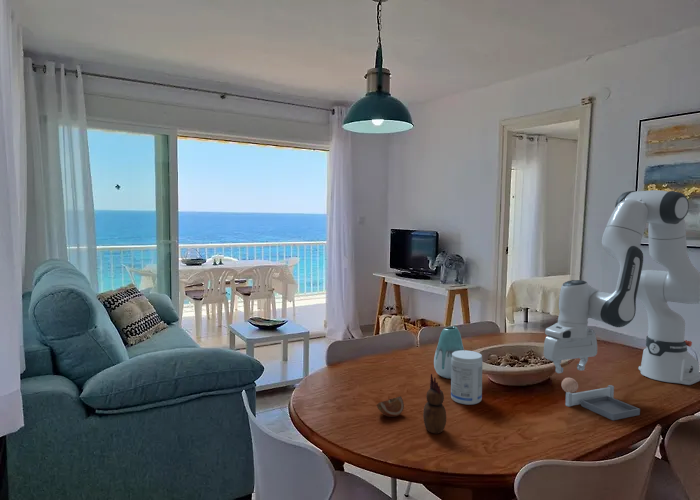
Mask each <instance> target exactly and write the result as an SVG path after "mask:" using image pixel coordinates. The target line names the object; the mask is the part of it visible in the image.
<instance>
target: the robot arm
mask: <svg viewBox="0 0 700 500" xmlns="http://www.w3.org/2000/svg"><path fill="white" fill-rule="evenodd" d="M614 207H615V208H613V209H614V210H613V211H612V213H611V215H610V217H609V218H608V221H607V223H606V226H605V229H604V231H603V233H602V236H601V237H602V238H601V246H602V248H603V250H604V251H605V252H606V254H608V255H609V257H612V258H614V259H615V260H616V261H617V262H618V264H619V272H618V276H617V282H616V285H615V289H614V291H613V292H612V293H611V292H606V291H602V290H599V289H596V288H595V287H592V285H589V284H588V282H587V281H585V280H582V279H579V280H578V279H576V280H575V279H572V280H567V281H565V282H563V283H562V284H561V287H560V291H559V295H558V296H559V297H558V309H559V314H558V318H557V322H555V323H554V324H553V325H550V326H548V327H545V331H544V333H545V335H546V336H545V339H544V343H543V356H544V358H545V359H547V360H548V361H551V362H552V363H553V365H554V367H555V373H557V374H563V373H564V367H562V366H561V364H562V361H565V360H574V359H580V360H579V362H578V363H577V364H576V369H577V371H585V368H586V365H587V363H588V361H589V358H590V357H596V355H598V341H597V335H596V334H597V333H596V331H595V330H594V329H593V328H592V327H591V328H589V325H588V323H589V319H591V320H592V319H593V320H594V321H598V322H602V323H605V324H607V325H609V326H612V327H613V328H614V327H615V328H623V327H625V326H628V325H629V324H630V323H631V322H632V321H634V318H635V317H636V311H637V306H636V305H637V303H636V302H637V299H638V300H639V301H640V303H641V304H642V305H643V308H644V309H645V311H646V315H647V336H646V338H645V346H646V347H645V348H644V349H643V352H642V358H641V363H640V365H639V366H638V369H637V370H639V371H640V374H641V375H642V376H645V377H647V378H649V379H651V380H655V381H659V382H665V383H673V384H682V385H686V386H691V385H693V384H696V383H698V382H700V363H699V360H698V359H696V358H695V357H694V356H693V355H692V354H691V353H690V352H689V351H688V347H689V348H690V347H692V345H693V342H692V341H691V340H686V339H685V332H686V321H685V319H684V318H683V316H682V315H680V313H678V312H676V311H674V310H673V309H672V308H670V306H669V304H668V302H671V303H678V304H679V303H680V304H685V305H686V304H689V305H694V304H695V305H696V304H699V305H700V271H699V270H698V269H697V268H696V267H695V266H694V264H693V263H692V261H691V260H690V258H689V254H688V253H689V252H688V247H687V229H686V228H687V227H686V222H685V217H686V216H687V215H688V213H689V209H690V204H689V200H688V197H686V196H685V194H684V193H683V192H682V193H681V192H678V191H675V190H670V191H667V190H659V189H657V190H656V189H651V190H637V191H636V190H630V191H626V192H623V193H622V194H620V195H619V197H618V198H617V199H616V202H615V205H614ZM647 224H648V237H647V238H648V254H649V257H650V258H651V260H653V261H654V262H656V263H658V264H660V265H661V266H663V267H664V268H665V269H666V270H655V269H643V266H644V265H643V264H644V253H643V251H642V249H641V243H642V239H643V235H644V233H645V230H646V227H647Z"/></svg>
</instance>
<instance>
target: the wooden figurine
mask: <svg viewBox="0 0 700 500" xmlns="http://www.w3.org/2000/svg"><path fill="white" fill-rule="evenodd" d="M429 382H430V383H429V389H428V390H427V392H426V397H425V398H426V402H425V404H424V406H423V415H422V416H423V418H422V419H423V422H424V427H425V429H426V430H427V431H428V432H429V433H431V434H440V433H442V432H443V431H444V430H445V427H446V425H447V411H446V407H445V405H444V404H443V403H444V401H445V395H444V392H443V391H442V390H441V386H440V385H439V382H437V380H436V377H433V374H432V373H430V381H429Z"/></svg>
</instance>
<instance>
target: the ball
mask: <svg viewBox="0 0 700 500" xmlns="http://www.w3.org/2000/svg"><path fill="white" fill-rule="evenodd" d="M561 388H562V390H563V391H564V392H565V393H566V392H570V393H577V391H578V389H579V384H578V382H577V380H575V379H574V378H572V377H565V378H563V380H562V381H561Z"/></svg>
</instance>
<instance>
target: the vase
mask: <svg viewBox="0 0 700 500" xmlns="http://www.w3.org/2000/svg"><path fill="white" fill-rule="evenodd" d="M437 342H438V343H437V346H436V349H435V353H434V357H433V367H434V370H435V372H436V374H437V375H439V376H440V377H442V378H446V379H450V380H451V359H452V353H453V352H455V351H460V350H465V347H464V345H463V339H462V335H461V332H460V330H459V328H458V327H457V326H447V327H444V328H443V329H442V331H441V332H440V336H439V338H438V341H437Z"/></svg>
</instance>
